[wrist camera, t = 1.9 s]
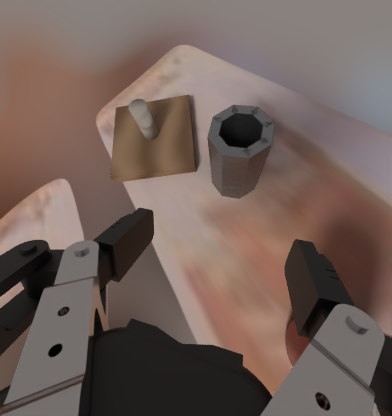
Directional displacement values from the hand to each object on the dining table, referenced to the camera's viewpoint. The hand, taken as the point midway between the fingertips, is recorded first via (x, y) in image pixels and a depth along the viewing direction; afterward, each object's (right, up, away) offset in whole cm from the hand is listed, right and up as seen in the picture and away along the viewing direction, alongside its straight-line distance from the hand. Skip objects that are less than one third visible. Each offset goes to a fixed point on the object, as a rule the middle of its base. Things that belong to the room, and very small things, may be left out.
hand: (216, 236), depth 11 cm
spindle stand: (-8, +13, +21) cm, 26 cm away
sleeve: (+4, +6, +17) cm, 18 cm away
